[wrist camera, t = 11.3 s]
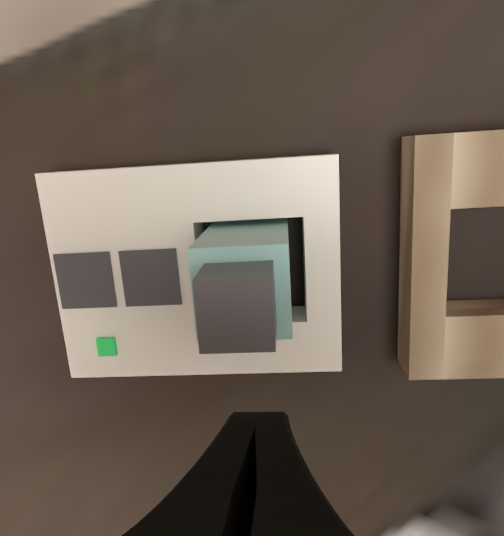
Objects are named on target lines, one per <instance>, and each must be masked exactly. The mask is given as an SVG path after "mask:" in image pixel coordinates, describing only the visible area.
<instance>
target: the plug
mask: <svg viewBox="0 0 504 536" xmlns="http://www.w3.org/2000/svg"><path fill="white" fill-rule="evenodd" d="M187 250H188V260H189V270H190V279H191V289H192V299H193V309H194V319H195V329H196V339H197V342H198V345H199V354H223V353H257V352H276V340H285V339H293V331H292V308H291V285H290V263H289V240H288V218H272V219H254V220H235V221H216V222H213V223H212V224H211V225H210V226H209V227H208V228H207V229H206V230H205V231H204V232H203V233H202V234H201V235H200V236H199V237H198V238H197V239H196V240H195V241H194V242H193V243H192V244H191V246H190V247H189V248H188V249H187Z"/></svg>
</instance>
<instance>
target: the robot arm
mask: <svg viewBox="0 0 504 536" xmlns="http://www.w3.org/2000/svg"><path fill="white" fill-rule="evenodd" d="M122 536H354V535H353V534H352V532H351V531H350V530H349V529H348V527H347V526H346V525H345V524H344V522H343V521H342V520H341V518H340V517H339V516H338V514H337V513H336V512H335V510H334V509H333V507H332V506H331V504H330V503H329V502H328V500H327V499H326V497H325V496H324V494H323V492H322V491H321V489H320V488H319V486H318V484H317V483H316V481H315V479H314V478H313V476H312V474H311V472H310V471H309V469H308V467H307V465H306V463H305V461H304V459H303V457H302V455H301V453H300V451H299V449H298V446H297V444H296V442H295V439H294V437H293V434H292V431H291V428H290V424H289V419H288V415H286V414H285V413H284V412H234V413H233V414H232V415H231V416H230V417H229V418H228V420H227V421H226V423H225V424H224V426H223V427H222V429H221V430H220V432H219V433H218V435H217V436H216V437H215V439H214V440H213V441H212V443H211V444H210V446H209V447H208V448H207V449H206V451H205V452H204V453H203V455H202V456H201V457H200V458H199V460H198V461H197V462H196V463H195V465H194V466H193V467H192V468H191V469H190V471H189V472H188V473H187V474H186V475H185V476H184V477H183V478H182V480H181V481H180V482H179V483H178V484H177V485H176V486H175V487H174V489H173V490H172V491H171V492H170V493H169V494H168V495H167V496H166V497H165V498H164V499H163V500H162V501H161V502H160V503H159V504H158V505H157V506H156V507H155V508H154V509H153V510H152V511H151V512H149V513H148V514H147V515H146V516H145V517H144V518H143V519H142V520H141V521H140V522H139V523H137V524H136V525H135V526H134V527H132V528H131V529H130V530H129V531H127V532H126V533H125V534H124V535H122Z"/></svg>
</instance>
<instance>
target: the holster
mask: <svg viewBox="0 0 504 536" xmlns="http://www.w3.org/2000/svg"><path fill="white" fill-rule="evenodd" d="M498 206H504V130H489V131H474V132H459V133H444V134H429V135H415V136H404V137H402V142H401V197H400V253H399V308H398V361H399V363H400V365H401V366H402V368H403V370H404V372H405V374H406V376H407V378H408V379H409V380H438V379H481V378H504V298H501V299H474V300H447V278H448V256H449V235H450V213H451V209H461V208H479V207H498ZM446 300H447V301H446Z"/></svg>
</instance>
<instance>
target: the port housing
mask: <svg viewBox="0 0 504 536" xmlns="http://www.w3.org/2000/svg"><path fill="white" fill-rule="evenodd" d="M35 178H36V184H37V189H38V195H39V200H40V206H41V211H42V217H43V222H44V228H45V234H46V239H47V245H48V250H49V256H50V261H51V267H52V273H53V278H54V284H55V289H56V295H57V300H58V306H59V311H60V317H61V323H62V328H63V334H64V339H65V345H66V350H67V356H68V361H69V367H70V373H71V378H87V377H127V376H167V375H207V374H247V373H287V372H327V371H342V339H341V274H340V210H339V154H321V155H305V156H289V157H274V158H258V159H243V160H227V161H212V162H196V163H180V164H165V165H149V166H134V167H118V168H103V169H87V170H72V171H57V172H47V173H37V174H35ZM291 217H302V233H303V261H304V288H305V306H291V308H292V331H293V339H285V340H276V352H257V353H223V354H199V345H198V342H197V339H196V329H195V319H194V309H193V299H192V289H191V279H190V270H189V260H188V250H187V249H188V248H189V247H190V246H191V244H192V243H193V242H194V241H195V240H196V239H197V238H198V237H199V236H200V235H201V234H202V233H203V222H216V221H235V220H254V219H272V218H291Z"/></svg>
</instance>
